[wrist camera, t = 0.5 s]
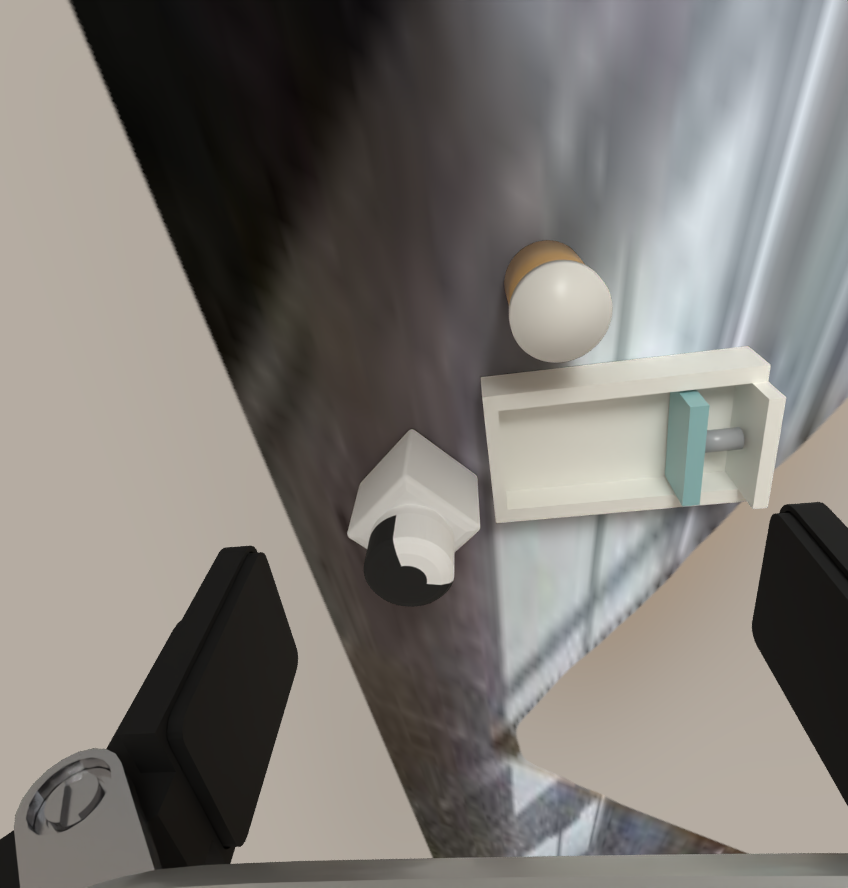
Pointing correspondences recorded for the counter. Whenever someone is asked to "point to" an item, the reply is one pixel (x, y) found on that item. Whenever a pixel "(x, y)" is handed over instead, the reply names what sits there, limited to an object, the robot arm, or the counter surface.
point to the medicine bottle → (414, 520)
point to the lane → (625, 434)
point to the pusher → (693, 444)
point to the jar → (555, 302)
